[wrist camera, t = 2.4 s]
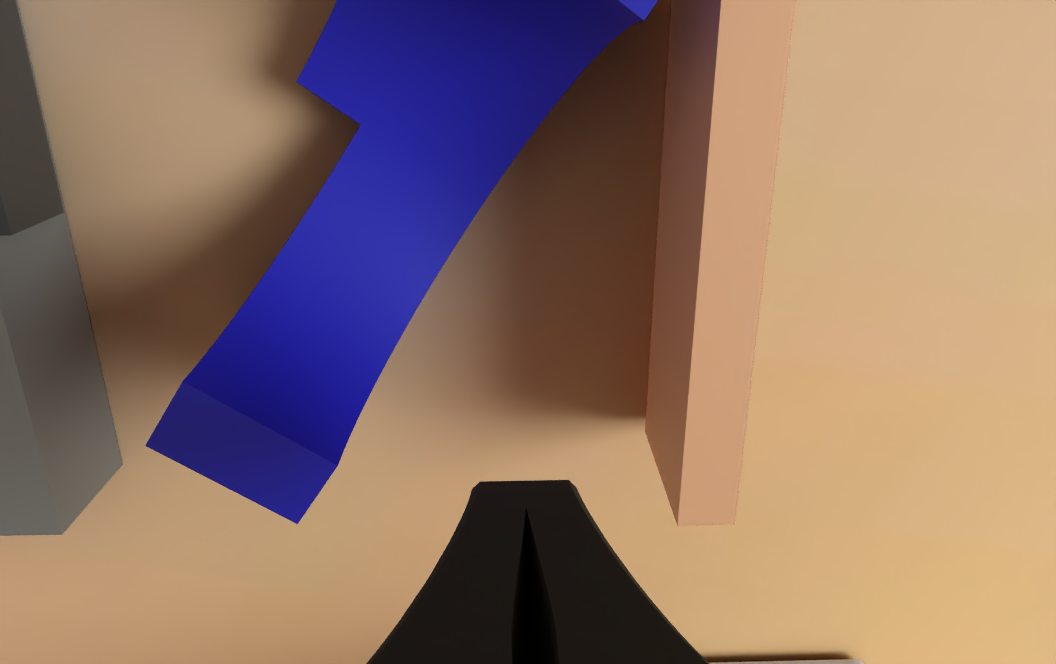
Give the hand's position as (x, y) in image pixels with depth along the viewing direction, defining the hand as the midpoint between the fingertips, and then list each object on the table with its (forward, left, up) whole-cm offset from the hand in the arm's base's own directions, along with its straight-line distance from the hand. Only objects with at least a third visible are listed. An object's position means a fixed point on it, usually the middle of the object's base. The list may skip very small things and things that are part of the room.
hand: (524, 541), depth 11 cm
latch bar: (+5, -4, -9) cm, 11 cm away
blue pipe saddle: (+4, +3, -9) cm, 11 cm away
